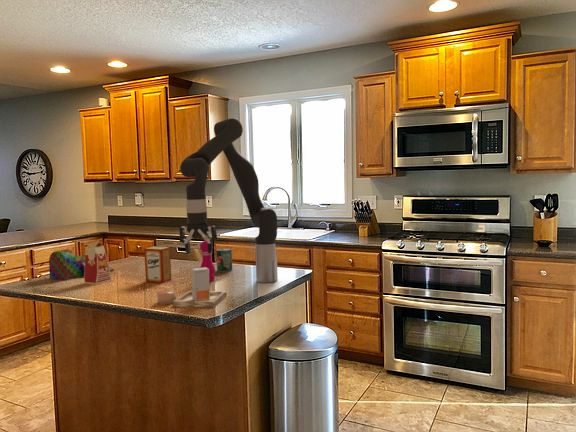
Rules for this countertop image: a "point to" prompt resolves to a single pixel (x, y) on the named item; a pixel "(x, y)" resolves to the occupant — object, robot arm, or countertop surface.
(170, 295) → the tan rounded blob
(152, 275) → the baking soda box
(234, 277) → the countertop surface
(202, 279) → the skincare box
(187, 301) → the maple tray
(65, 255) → the rainbow checkered teapot
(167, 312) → the countertop surface
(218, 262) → the canned tomato
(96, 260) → the milk carton
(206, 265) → the pepper mill
